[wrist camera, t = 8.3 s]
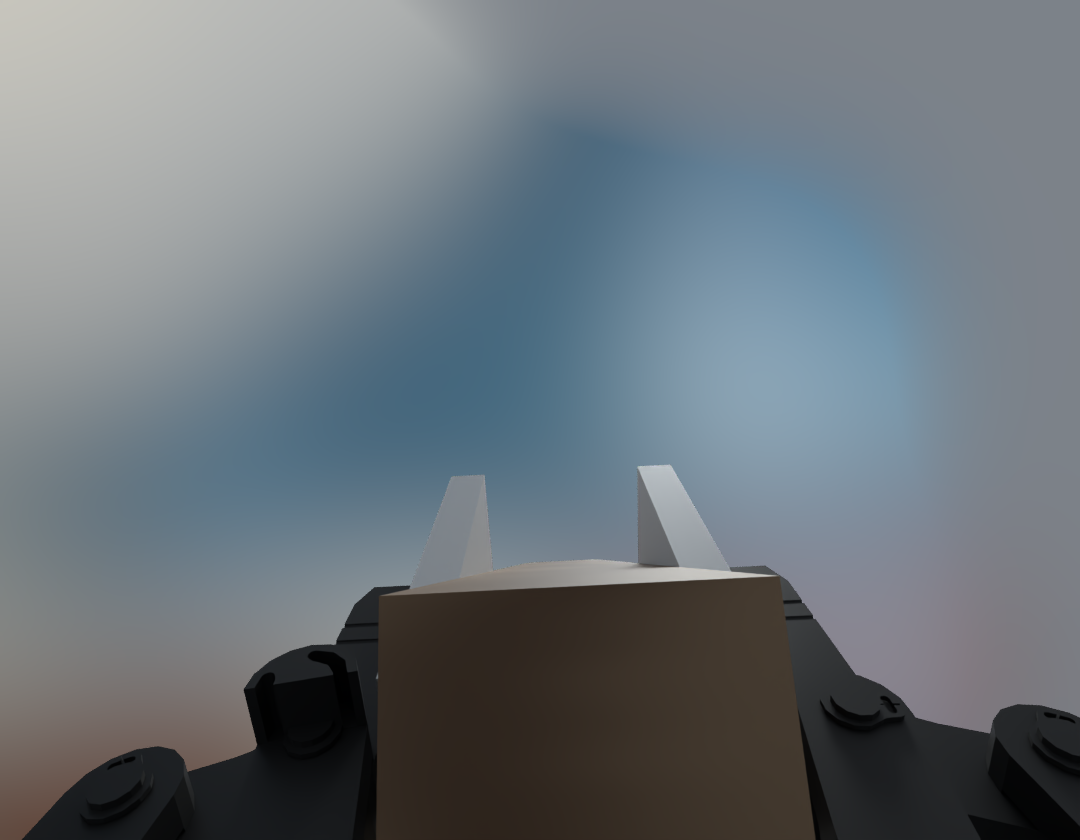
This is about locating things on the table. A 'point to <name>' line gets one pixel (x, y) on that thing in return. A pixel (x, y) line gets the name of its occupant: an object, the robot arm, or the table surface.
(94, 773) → the robot arm
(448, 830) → the walnut bar
